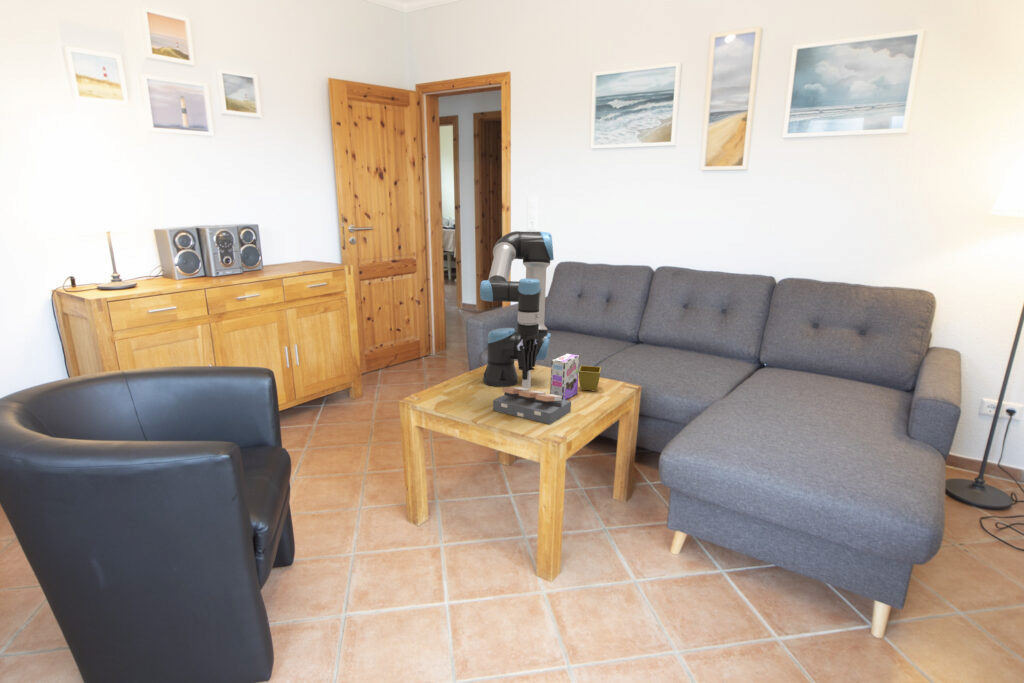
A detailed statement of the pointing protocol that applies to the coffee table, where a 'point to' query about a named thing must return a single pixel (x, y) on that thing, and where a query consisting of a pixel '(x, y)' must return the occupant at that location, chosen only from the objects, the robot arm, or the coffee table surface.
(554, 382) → the candy box
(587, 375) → the flower pot
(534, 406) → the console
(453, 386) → the coffee table surface
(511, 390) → the rocker left
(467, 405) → the coffee table surface
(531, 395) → the rocker middle
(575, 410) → the coffee table surface
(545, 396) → the rocker right
